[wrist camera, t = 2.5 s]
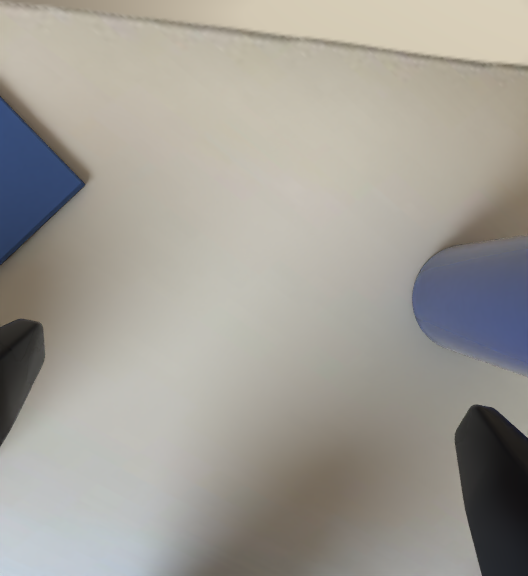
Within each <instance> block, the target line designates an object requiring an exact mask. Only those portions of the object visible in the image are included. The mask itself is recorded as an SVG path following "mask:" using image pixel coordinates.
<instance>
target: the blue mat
mask: <svg viewBox="0 0 528 576" xmlns="http://www.w3.org/2000/svg"><path fill="white" fill-rule="evenodd" d="M84 186H85V184H84V183H83V181H82V180H81V179H80V178H79V177H78V176H77V175H76V174H75V173H74V172H73V171H72V170H71V169H70V168H69V167H68V166H67V165H66V164H65V163H64V162H63V161H62V160H61V159H60V158H59V157H58V156H57V155H56V154H55V153H54V152H53V150H52V149H51V148H50V147H49V146H48V145H47V144H46V143H45V142H44V141H43V140H42V139H41V138H40V137H39V136H38V135H37V134H36V133H35V132H34V131H33V130H32V129H31V128H30V127H29V126H28V125H27V124H26V123H25V122H24V121H23V119H22V118H21V117H20V116H19V115H18V114H17V113H16V112H15V111H14V110H13V109H12V108H11V107H10V106H9V105H8V104H7V103H6V102H5V101H4V100H3V99H2V98H1V97H0V265H1V264H2V263H3V262H4V261H5V260H6V259H7V258H8V257H9V256H10V255H12V254H13V253H14V252H15V251H16V250H17V249H18V248H19V247H20V246H21V245H22V244H23V243H24V242H25V241H26V240H27V239H28V238H30V237H31V236H32V235H33V234H34V233H35V232H36V231H37V230H38V229H39V228H40V227H41V226H42V225H43V224H44V223H45V222H46V221H48V220H49V219H50V218H51V217H52V216H53V215H54V214H55V213H56V212H57V211H58V210H59V209H60V208H61V207H62V206H63V205H64V204H66V203H67V202H68V201H69V200H70V199H71V198H72V197H73V196H74V195H75V194H76V193H77V192H78V191H79V190H80V189H81V188H82V187H84Z"/></svg>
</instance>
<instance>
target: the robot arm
mask: <svg viewBox="0 0 528 576" xmlns="http://www.w3.org/2000/svg"><path fill="white" fill-rule="evenodd" d="M44 358H45V347H44V333H43V326H42V324H41V323H39V322H37V321H31V320H26V319H18V320H15V321H13V322H11V323H8V324H6V325H4V326H2V327H0V446H1V445H2V443H3V441H4V440H5V438H6V436H7V435H8V433H9V431H10V430H11V428H12V426H13V424H14V422H15V420H16V418H17V416H18V414H19V412H20V410H21V408H22V406H23V404H24V402H25V400H26V398H27V396H28V394H29V392H30V390H31V387H32V385H33V383H34V381H35V379H36V377H37V375H38V373H39V371H40V369H41V367H42V365H43V362H44ZM455 446H456V453H457V460H458V466H459V473H460V480H461V486H462V493H463V500H464V505H465V511H466V515H467V519H468V523H469V527H470V531H471V535H472V539H473V543H474V547H475V550H476V554H477V558H478V562H479V566H480V570H481V574H482V576H528V438H527V437H526V436H525V435H524V434H523V433H521V432H520V431H519V430H518V429H517V428H516V427H515V426H514V425H512V424H511V423H510V422H509V421H508V420H507V419H506V418H505V417H503V416H502V415H501V414H500V413H499V412H498V411H497V410H495V409H494V408H491V407H487V406H482V405H473V406H471V407H470V409H469V410H468V412H467V413H466V415H465V417H464V418H463V420H462V422H461V423H460V425H459V427H458V428H457V430H456V433H455Z"/></svg>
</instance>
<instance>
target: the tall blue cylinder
mask: <svg viewBox="0 0 528 576" xmlns="http://www.w3.org/2000/svg"><path fill="white" fill-rule="evenodd" d="M412 303H413V310H414V314H415V317H416V320H417V322H418V324H419V326H420V328H421V329H422V331H423V332H424V333H425V334H426V336H427V337H428V338H429V339H431V340H432V341H433V342H434V343H436V344H437V345H439V346H441V347H443V348H445V349H448V350H451V351H454V352H456V353H459V354H462V355H465V356H468V357H471V358H473V359H476V360H479V361H482V362H485V363H488V364H491V365H493V366H496V367H499V368H502V369H505V370H508V371H511V372H513V373H516V374H519V375H522V376H525V377H528V235H521V236H515V237H508V238H502V239H495V240H488V241H482V242H475V243H469V244H462V245H456V246H452V247H449V248H446V249H444V250H442V251H440V252H438V253H437V254H435V255H434V256H433V257H431V258H430V259H429V260H428V261H427V262H426V263H425V264H424V266H423V267H422V269H421V270H420V272H419V274H418V276H417V278H416V281H415V284H414V288H413V295H412Z"/></svg>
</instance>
